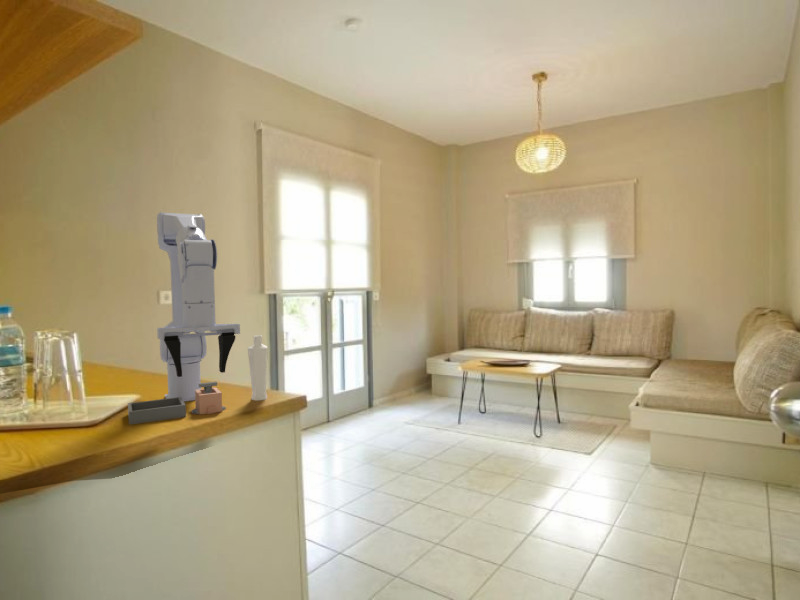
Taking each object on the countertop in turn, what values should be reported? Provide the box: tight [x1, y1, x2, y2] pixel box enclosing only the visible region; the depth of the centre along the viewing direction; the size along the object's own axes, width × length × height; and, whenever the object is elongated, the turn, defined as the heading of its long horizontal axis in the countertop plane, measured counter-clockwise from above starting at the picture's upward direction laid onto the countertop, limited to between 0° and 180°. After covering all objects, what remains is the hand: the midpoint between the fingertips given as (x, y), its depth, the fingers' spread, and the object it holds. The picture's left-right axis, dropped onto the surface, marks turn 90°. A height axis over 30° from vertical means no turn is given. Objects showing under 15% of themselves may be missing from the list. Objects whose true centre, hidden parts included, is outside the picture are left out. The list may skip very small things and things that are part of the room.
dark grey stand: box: [190, 381, 227, 415], centre depth 106 cm, size 7×7×6 cm
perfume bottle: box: [247, 335, 269, 402], centre depth 116 cm, size 5×4×15 cm
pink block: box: [194, 386, 223, 415], centre depth 106 cm, size 7×4×4 cm, turn 30°
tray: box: [127, 397, 187, 425], centre depth 102 cm, size 9×10×3 cm
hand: (201, 373), depth 94 cm, fingers open, 7 cm apart
